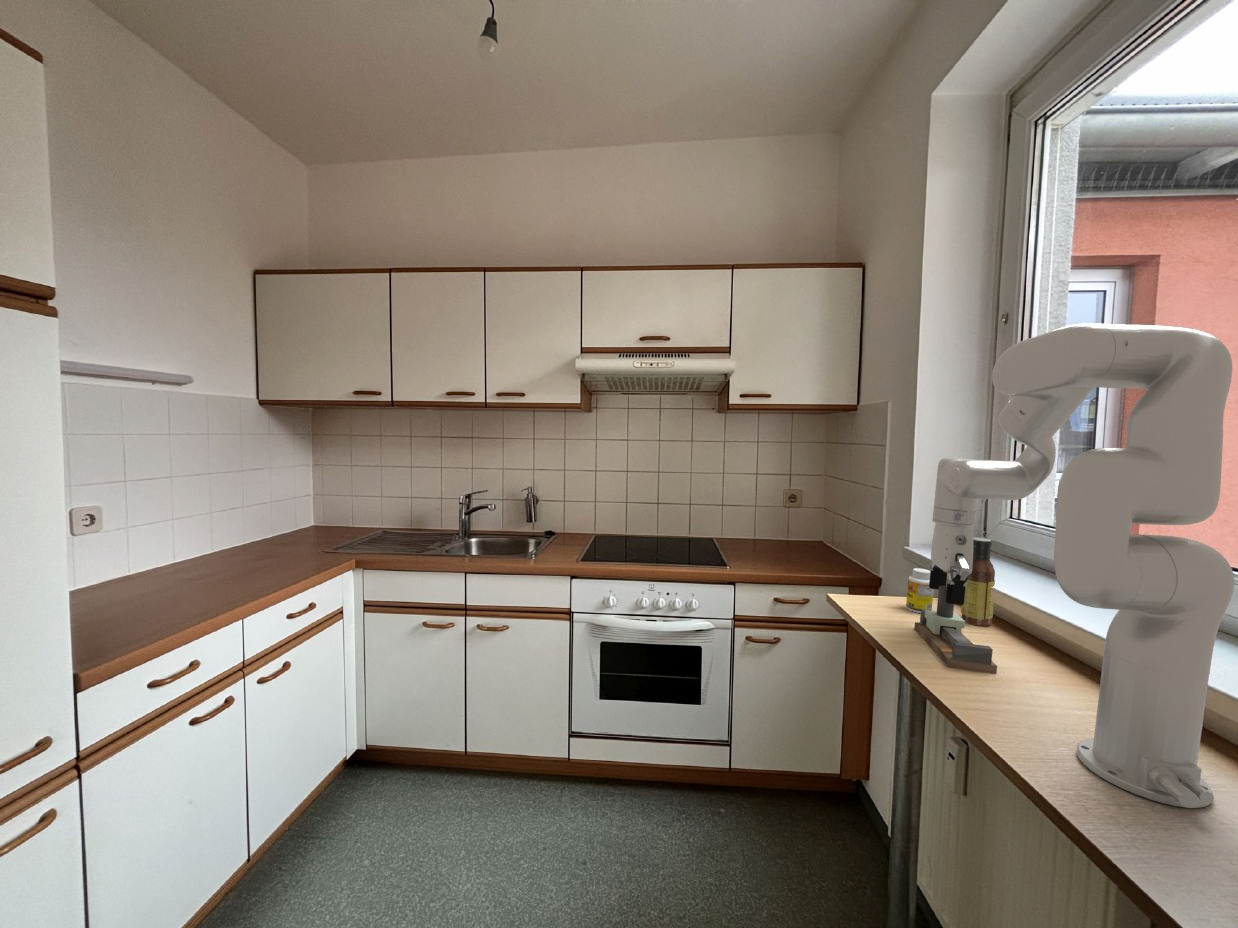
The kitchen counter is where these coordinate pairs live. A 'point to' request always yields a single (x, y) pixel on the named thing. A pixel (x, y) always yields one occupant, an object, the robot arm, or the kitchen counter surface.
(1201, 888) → the kitchen counter surface
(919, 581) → the supplement bottle
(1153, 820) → the kitchen counter surface
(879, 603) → the kitchen counter surface
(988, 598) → the sauce bottle
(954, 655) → the rail base
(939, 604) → the carriage
